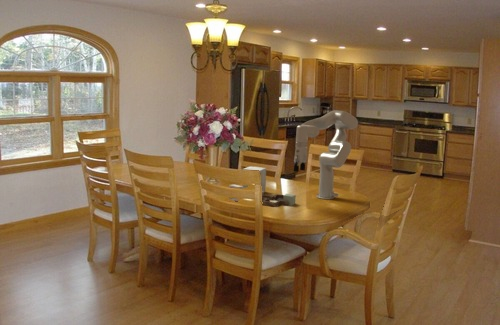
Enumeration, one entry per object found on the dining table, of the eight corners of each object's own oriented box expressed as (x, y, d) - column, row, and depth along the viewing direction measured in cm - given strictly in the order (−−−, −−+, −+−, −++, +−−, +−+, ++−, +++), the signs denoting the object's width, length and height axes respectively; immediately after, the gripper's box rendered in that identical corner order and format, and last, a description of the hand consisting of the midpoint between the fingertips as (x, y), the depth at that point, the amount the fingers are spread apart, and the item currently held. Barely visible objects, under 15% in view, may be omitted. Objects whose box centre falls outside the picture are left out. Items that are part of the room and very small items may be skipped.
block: (295, 203, 321) (295, 194, 320) (291, 205, 315) (291, 196, 314) (286, 202, 323) (287, 193, 322) (282, 204, 318) (283, 195, 317)
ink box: (243, 204, 315) (243, 186, 313) (237, 205, 312) (238, 187, 310) (233, 201, 321) (234, 183, 319) (228, 202, 317) (228, 184, 316)
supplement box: (248, 189, 359) (249, 166, 356) (265, 191, 354) (266, 167, 351) (241, 193, 347) (242, 168, 344) (258, 195, 342) (259, 170, 339)
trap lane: (297, 200, 329) (298, 193, 329) (282, 207, 308) (283, 200, 308) (266, 196, 340) (267, 189, 339) (250, 202, 319) (250, 195, 318)
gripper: (301, 145, 308) (299, 172, 311) (312, 144, 323) (310, 170, 325) (290, 144, 312) (288, 171, 314) (301, 143, 327) (299, 169, 329)
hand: (299, 170), depth 320 cm, fingers open, 9 cm apart
